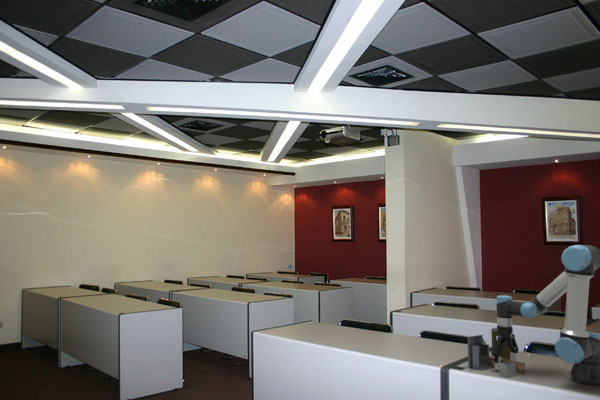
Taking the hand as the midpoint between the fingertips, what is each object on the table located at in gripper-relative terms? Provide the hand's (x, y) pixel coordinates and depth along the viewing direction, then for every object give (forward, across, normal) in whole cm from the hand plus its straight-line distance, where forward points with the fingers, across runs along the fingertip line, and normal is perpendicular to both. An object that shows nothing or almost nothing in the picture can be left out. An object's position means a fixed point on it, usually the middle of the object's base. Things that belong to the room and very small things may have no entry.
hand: (505, 367), depth 241 cm
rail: (+1, 0, 0) cm, 1 cm away
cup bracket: (+1, +9, -10) cm, 13 cm away
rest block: (+1, +9, +7) cm, 11 cm away
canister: (+1, -13, -11) cm, 17 cm away
